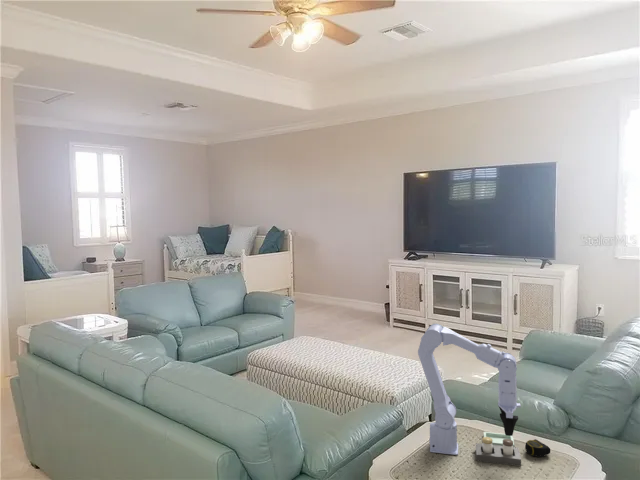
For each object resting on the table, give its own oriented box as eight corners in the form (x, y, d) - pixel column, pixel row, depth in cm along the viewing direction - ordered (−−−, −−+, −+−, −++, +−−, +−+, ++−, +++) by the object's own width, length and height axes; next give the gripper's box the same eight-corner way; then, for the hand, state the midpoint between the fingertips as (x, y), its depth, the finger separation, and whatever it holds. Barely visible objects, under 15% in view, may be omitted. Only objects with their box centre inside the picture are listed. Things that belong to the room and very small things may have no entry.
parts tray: (484, 446, 172) (484, 441, 172) (483, 435, 180) (483, 431, 180) (514, 449, 169) (514, 444, 169) (512, 438, 177) (512, 434, 177)
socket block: (476, 460, 162) (476, 454, 162) (475, 449, 170) (475, 443, 170) (521, 465, 158) (521, 459, 158) (518, 453, 166) (518, 447, 166)
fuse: (482, 458, 164) (482, 441, 164) (482, 453, 167) (482, 436, 167) (492, 459, 163) (492, 442, 163) (492, 454, 166) (492, 437, 166)
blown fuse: (503, 460, 162) (503, 443, 162) (502, 455, 165) (502, 438, 165) (513, 461, 161) (513, 444, 161) (512, 456, 164) (512, 439, 164)
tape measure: (551, 457, 164) (551, 446, 163) (535, 460, 162) (535, 450, 161) (536, 447, 170) (536, 437, 170) (520, 451, 168) (520, 440, 168)
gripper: (522, 400, 154) (523, 441, 155) (518, 383, 168) (518, 421, 168) (499, 398, 156) (499, 439, 157) (496, 382, 170) (496, 419, 171)
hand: (507, 430), depth 163 cm, fingers open, 7 cm apart
